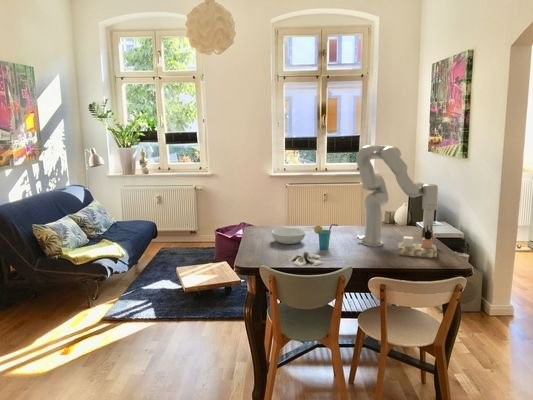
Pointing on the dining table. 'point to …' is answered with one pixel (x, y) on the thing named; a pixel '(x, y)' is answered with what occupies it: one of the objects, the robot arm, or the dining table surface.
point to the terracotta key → (426, 243)
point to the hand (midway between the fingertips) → (427, 238)
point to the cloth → (306, 259)
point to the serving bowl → (288, 235)
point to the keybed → (417, 250)
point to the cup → (323, 236)
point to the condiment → (424, 233)
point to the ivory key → (408, 241)
